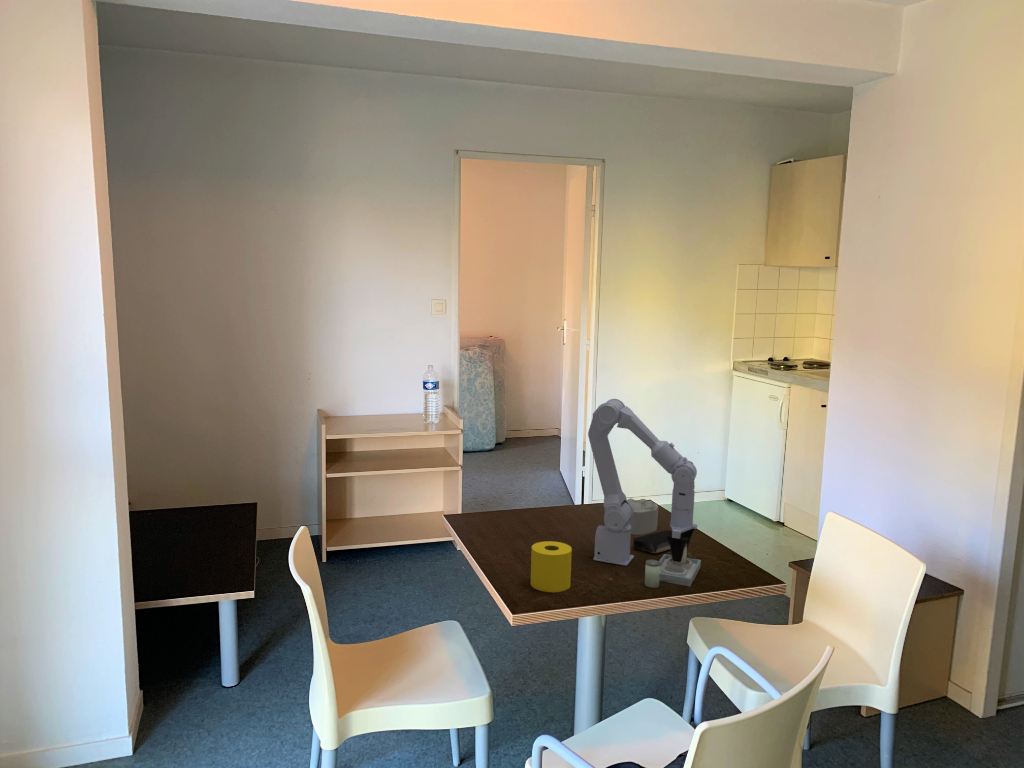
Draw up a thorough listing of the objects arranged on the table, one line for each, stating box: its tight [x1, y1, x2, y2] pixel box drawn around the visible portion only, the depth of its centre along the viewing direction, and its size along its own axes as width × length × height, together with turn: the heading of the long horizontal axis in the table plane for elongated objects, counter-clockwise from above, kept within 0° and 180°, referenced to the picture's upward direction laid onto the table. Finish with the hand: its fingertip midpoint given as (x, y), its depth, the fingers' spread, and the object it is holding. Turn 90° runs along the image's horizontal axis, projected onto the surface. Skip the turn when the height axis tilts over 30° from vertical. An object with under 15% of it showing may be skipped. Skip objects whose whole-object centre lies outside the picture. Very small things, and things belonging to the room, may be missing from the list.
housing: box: [658, 553, 702, 587], centre depth 198 cm, size 10×15×2 cm, turn 156°
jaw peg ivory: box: [672, 544, 688, 565], centre depth 201 cm, size 4×4×6 cm
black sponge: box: [632, 529, 672, 554], centre depth 219 cm, size 16×8×4 cm, turn 129°
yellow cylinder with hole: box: [529, 541, 573, 593], centre depth 188 cm, size 10×10×9 cm
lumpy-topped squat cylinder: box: [627, 498, 659, 536], centre depth 235 cm, size 10×13×9 cm
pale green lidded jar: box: [644, 559, 660, 589], centre depth 189 cm, size 4×4×6 cm
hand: (679, 556), depth 201 cm, fingers open, 7 cm apart
